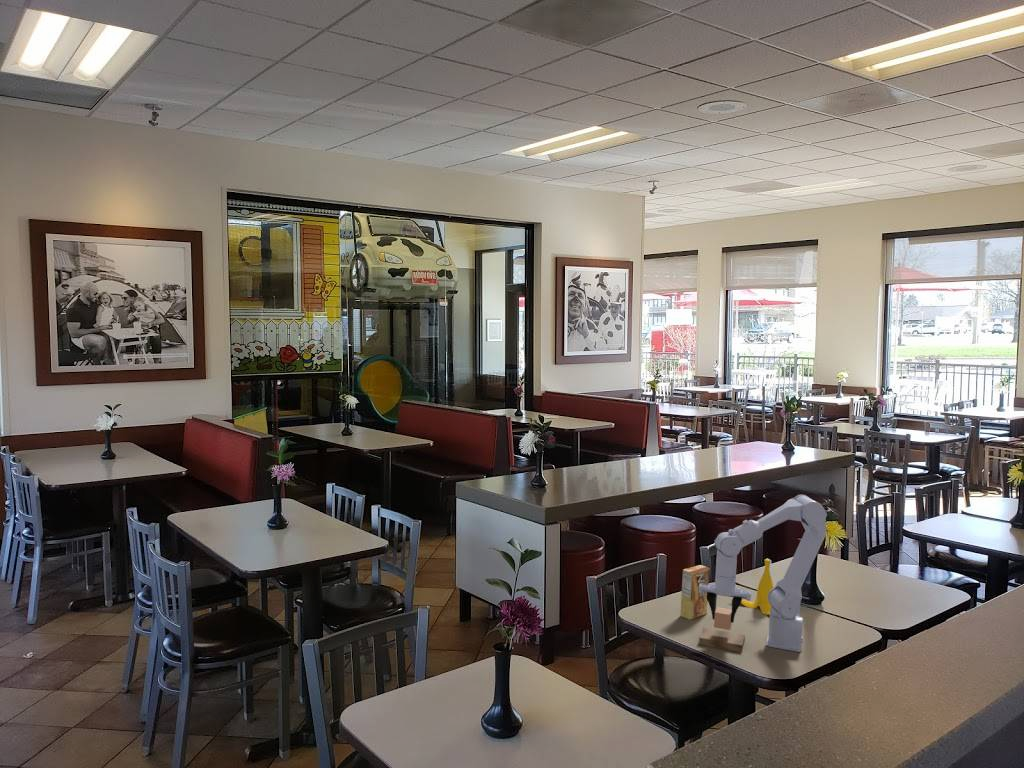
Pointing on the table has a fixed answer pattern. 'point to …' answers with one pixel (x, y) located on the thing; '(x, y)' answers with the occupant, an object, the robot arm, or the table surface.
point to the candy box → (694, 592)
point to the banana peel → (762, 592)
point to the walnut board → (722, 639)
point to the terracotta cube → (722, 618)
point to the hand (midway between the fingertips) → (723, 619)
